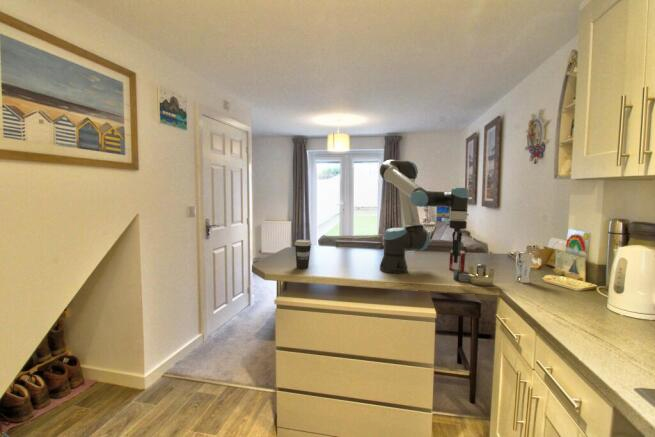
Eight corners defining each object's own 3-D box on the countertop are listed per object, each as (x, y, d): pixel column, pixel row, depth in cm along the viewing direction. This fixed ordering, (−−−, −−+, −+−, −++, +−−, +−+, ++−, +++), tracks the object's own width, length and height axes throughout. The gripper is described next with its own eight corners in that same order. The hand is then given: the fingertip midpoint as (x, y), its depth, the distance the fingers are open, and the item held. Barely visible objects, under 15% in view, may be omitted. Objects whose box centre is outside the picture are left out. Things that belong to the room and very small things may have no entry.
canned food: (465, 272, 181) (466, 252, 180) (450, 271, 182) (451, 251, 182) (462, 269, 188) (463, 250, 188) (448, 268, 190) (449, 249, 189)
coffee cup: (290, 268, 178) (291, 241, 176) (298, 264, 186) (299, 239, 185) (306, 270, 174) (307, 242, 173) (313, 266, 183) (314, 240, 182)
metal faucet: (493, 282, 161) (495, 254, 160) (492, 287, 151) (494, 258, 150) (454, 276, 170) (456, 250, 168) (451, 281, 160) (452, 253, 159)
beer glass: (530, 284, 160) (532, 254, 159) (513, 281, 164) (516, 252, 162) (530, 281, 166) (532, 252, 165) (514, 279, 170) (516, 250, 168)
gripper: (465, 221, 147) (462, 272, 149) (468, 219, 159) (465, 267, 161) (447, 220, 151) (444, 270, 153) (451, 219, 162) (449, 265, 164)
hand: (455, 268), depth 157 cm, fingers closed
